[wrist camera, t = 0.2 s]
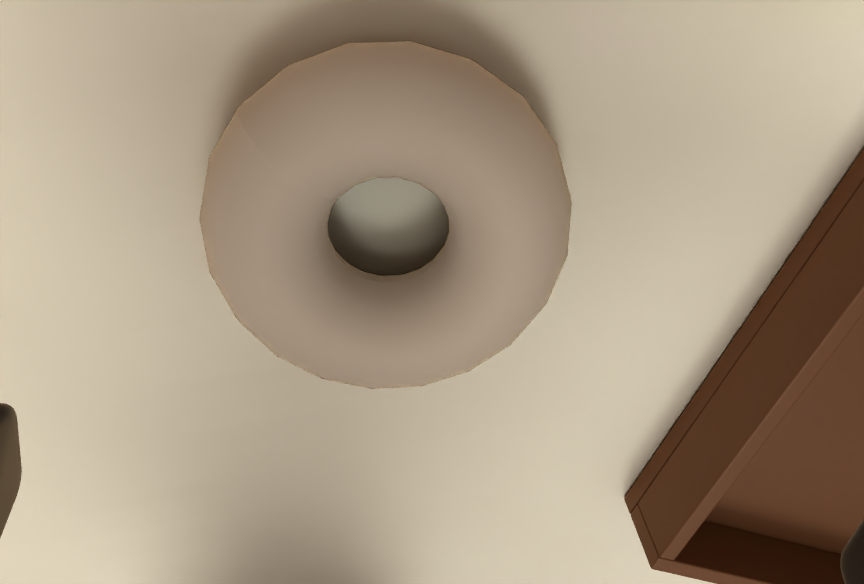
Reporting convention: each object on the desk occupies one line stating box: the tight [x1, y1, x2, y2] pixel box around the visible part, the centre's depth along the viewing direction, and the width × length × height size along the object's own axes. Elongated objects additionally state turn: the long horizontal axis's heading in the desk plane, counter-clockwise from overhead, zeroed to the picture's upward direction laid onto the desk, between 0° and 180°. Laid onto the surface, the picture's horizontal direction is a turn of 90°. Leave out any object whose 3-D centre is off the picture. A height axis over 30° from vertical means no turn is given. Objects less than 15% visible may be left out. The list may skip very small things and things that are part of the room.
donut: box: [200, 41, 571, 389], centre depth 21 cm, size 10×3×10 cm
